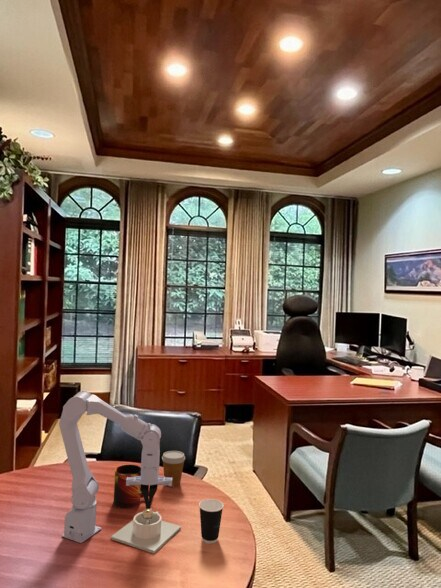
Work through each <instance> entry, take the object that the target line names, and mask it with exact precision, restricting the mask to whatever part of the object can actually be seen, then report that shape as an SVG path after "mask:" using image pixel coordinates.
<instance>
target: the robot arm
mask: <svg viewBox="0 0 441 588" xmlns="http://www.w3.org/2000/svg"><path fill="white" fill-rule="evenodd" d="M85 413H86V416H92V415H96V414H98V415H100V416H102V417H104V418H106V419H108V420H109V421H112V422H114V423H116V424H118V425H119V427H120V430H121V431H122V432H124V433H126V434H127V435H128V436H130V437H133V438H134V439H135V440H137V441H140V443H141V445H142V450H141V458H140V459H141V461H140V464H141V465H140V467H141V476H137V477H127V479H126V486H129V485H141V488H140V490H141V493H142V495H143V497H142V498H143V500H144V505H145V508H146V509H150V508H151V505H152V501H153V499H154V497H155V494H156V493H157V491H158V486H165V485H168V486H172V478H168V477H164V476H162V475H161V476H160V456H161V455H160V453H161V450H160V447H161V445H160V442H161V437H162V431H161V428H160V427H159V426H157V425H156V424H153V423H150V422H148V423H147V422H146V421H144V420H142V419H141V418H139V415H138V414H136V413H135V414H134V415H133V414H132V413H130V414H124V413H123V412H121V411H120V410H118V409H117V408H115V407H114V406H112V405H110V404H109V403H107V402H106V401H104V400H102V399H101V398H100V397H98V396H97V395H95V394H91V392H89V391H88V390H81V391H78V392H77V393H76V394H75V395H73V397H71V398H69V399H68V400H67V401H66V403H65V404H64V405H63V406H62V412H61V416H60V419H59V421H58V422H59V423H58V425H59V429H60V434H61V438H62V442H63V445H64V449H65V453H66V457H67V460H68V465H69V468H70V473H71V476H72V480H71V490H72V491H71V492H72V494H71V503H72V507H71V508H70V510H69V511H67V513H66V514H65V516H64V527H63V528H64V529H63V533H62V535H61V537H63V538H66V539H69V540H71V541H74V542H76V543H80V544H82V543H84V542H85V541H87V540H89V538H91V537H92V536H94V535H96V533H98V532H99V531H101V530H102V527H100V526H97V525H96V523H97V522H96V521H97V499H96V495H97V493H98V491H99V482H98V481H97V479H96V478H95V477H94V473H93V472H92V471H90V468H89V465H88V464H89V463H88V461H87V457H86V453H85V449H84V446H83V441H82V438H81V433H80V429H79V426H78V422H79V421H80V419H81V418H82V416H83V415H84V414H85ZM148 493H149V496H148Z"/></svg>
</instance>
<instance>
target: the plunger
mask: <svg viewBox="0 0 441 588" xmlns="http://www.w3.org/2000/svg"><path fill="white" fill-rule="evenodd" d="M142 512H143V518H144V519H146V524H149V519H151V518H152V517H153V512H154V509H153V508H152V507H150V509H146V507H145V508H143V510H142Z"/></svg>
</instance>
